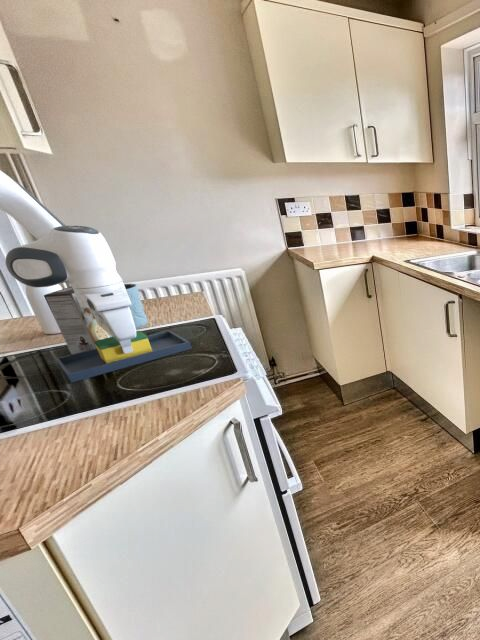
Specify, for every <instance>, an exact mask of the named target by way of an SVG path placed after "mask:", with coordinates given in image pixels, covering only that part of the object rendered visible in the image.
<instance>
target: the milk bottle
mask: <svg viewBox="0 0 480 640" xmlns="http://www.w3.org/2000/svg"><path fill="white" fill-rule="evenodd" d="M62 289H63V288H62V286H61V285H60V284H57V285H54V286H49V287H31V286H28V285H25V295H26V299H27V300H28V303H29V306H30V307H31V310H32V311H33V315H34V316H35V318H36V321H37V323H38V324H39V326H40V329H41V330H42V332H43V334H46V335H55V334H56V335H57V334H62V333H61V331H60V329H59V327H58V325H57V323H56V320H55V318H54V316H53V314H52V312H51V310H50V308H49V306H48V304H47V301H46V299H45V297H44V295H46V294H49V293H52V292H55V291H58V290H62Z"/></svg>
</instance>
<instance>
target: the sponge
mask: <svg viewBox="0 0 480 640" xmlns="http://www.w3.org/2000/svg"><path fill="white" fill-rule="evenodd" d="M147 336H148V335H147V334H146V333H144V332H143V331H142V330H136V337H135V338H132V339H131V346H132V349H133V352H130V353H127V354H126V353H124V352H123V351H122V349H121V347H120V343H119V341H117V340H116V339H115V338H114V337H110V338H105V339H101V340H97V341H94V343H95V345H96V348H97V350H98V352H99V355H100V357H101V358H102V359H103V360H104V361H105V362H106V363H111V362H114V361H118V360H122V359H125V358H129V357H133V356H137V355H140V354H144V353H148V352H151V351H152V348H151V346H150V343H149V340H148V338H147Z"/></svg>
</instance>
